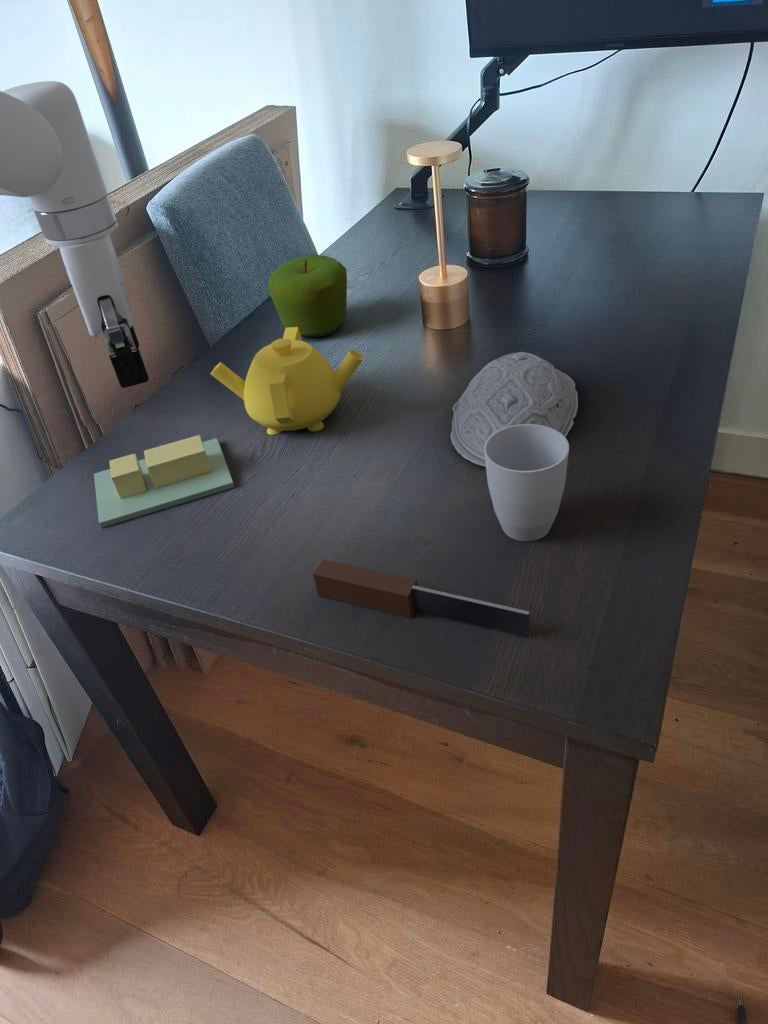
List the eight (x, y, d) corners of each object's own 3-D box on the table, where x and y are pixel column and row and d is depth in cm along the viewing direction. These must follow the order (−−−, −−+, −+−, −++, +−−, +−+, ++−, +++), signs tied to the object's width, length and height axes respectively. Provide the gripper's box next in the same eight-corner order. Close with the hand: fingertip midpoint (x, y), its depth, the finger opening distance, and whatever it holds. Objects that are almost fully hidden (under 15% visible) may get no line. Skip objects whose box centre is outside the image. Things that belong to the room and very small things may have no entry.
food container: (586, 363, 103) (582, 318, 98) (564, 481, 86) (559, 433, 81) (474, 369, 108) (467, 326, 104) (433, 481, 91) (422, 436, 87)
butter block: (155, 488, 92) (146, 467, 90) (151, 471, 95) (143, 450, 93) (211, 471, 93) (205, 450, 91) (206, 455, 96) (199, 434, 94)
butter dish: (101, 528, 88) (98, 523, 88) (95, 478, 96) (93, 473, 96) (234, 487, 91) (233, 482, 91) (218, 442, 100) (217, 437, 99)
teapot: (373, 377, 108) (363, 303, 101) (368, 448, 94) (355, 369, 87) (236, 390, 110) (217, 318, 103) (212, 461, 96) (187, 384, 89)
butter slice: (120, 499, 91) (111, 477, 89) (117, 481, 94) (109, 460, 92) (147, 491, 91) (138, 469, 89) (143, 474, 94) (135, 452, 92)
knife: (318, 595, 75) (312, 572, 73) (328, 580, 77) (322, 557, 75) (525, 646, 67) (525, 621, 65) (532, 628, 69) (532, 604, 67)
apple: (282, 316, 128) (268, 250, 121) (354, 307, 127) (344, 240, 120) (276, 351, 118) (260, 281, 111) (354, 341, 118) (343, 270, 111)
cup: (577, 513, 80) (582, 434, 74) (546, 560, 75) (548, 480, 69) (507, 494, 84) (506, 417, 78) (473, 538, 79) (469, 459, 73)
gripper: (39, 206, 85) (94, 346, 95) (41, 252, 71) (104, 408, 82) (107, 191, 86) (153, 330, 97) (121, 233, 73) (173, 389, 84)
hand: (131, 366), depth 89 cm, fingers open, 9 cm apart
